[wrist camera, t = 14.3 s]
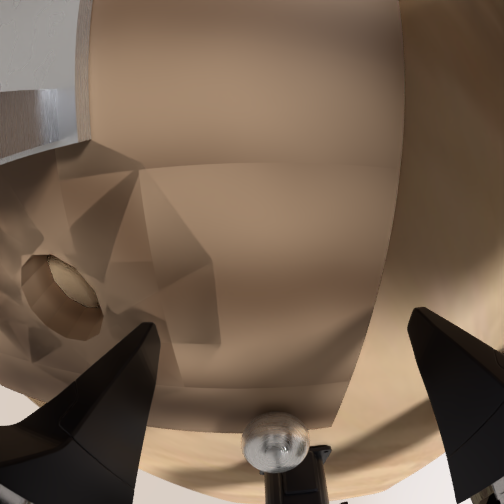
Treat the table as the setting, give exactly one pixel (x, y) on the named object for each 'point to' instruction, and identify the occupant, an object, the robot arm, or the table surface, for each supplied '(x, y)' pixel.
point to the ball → (275, 442)
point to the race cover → (43, 75)
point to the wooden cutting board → (214, 207)
